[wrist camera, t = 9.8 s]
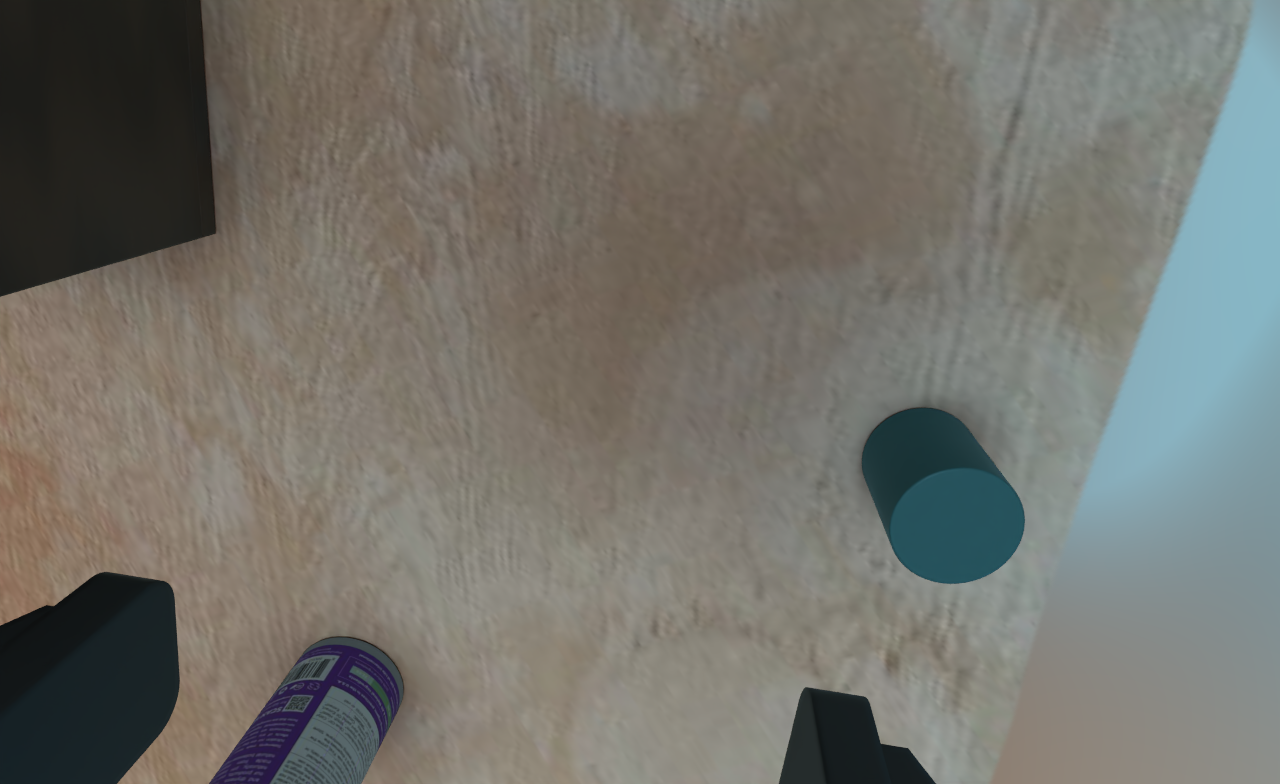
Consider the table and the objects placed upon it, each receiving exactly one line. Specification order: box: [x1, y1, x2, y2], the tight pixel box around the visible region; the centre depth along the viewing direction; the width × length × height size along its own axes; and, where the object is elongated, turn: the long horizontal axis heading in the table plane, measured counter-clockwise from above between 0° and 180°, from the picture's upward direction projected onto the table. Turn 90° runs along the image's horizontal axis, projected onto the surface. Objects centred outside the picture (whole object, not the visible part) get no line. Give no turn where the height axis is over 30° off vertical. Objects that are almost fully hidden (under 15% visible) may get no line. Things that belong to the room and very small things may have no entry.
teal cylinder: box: [862, 408, 1025, 584], centre depth 28 cm, size 4×4×5 cm
